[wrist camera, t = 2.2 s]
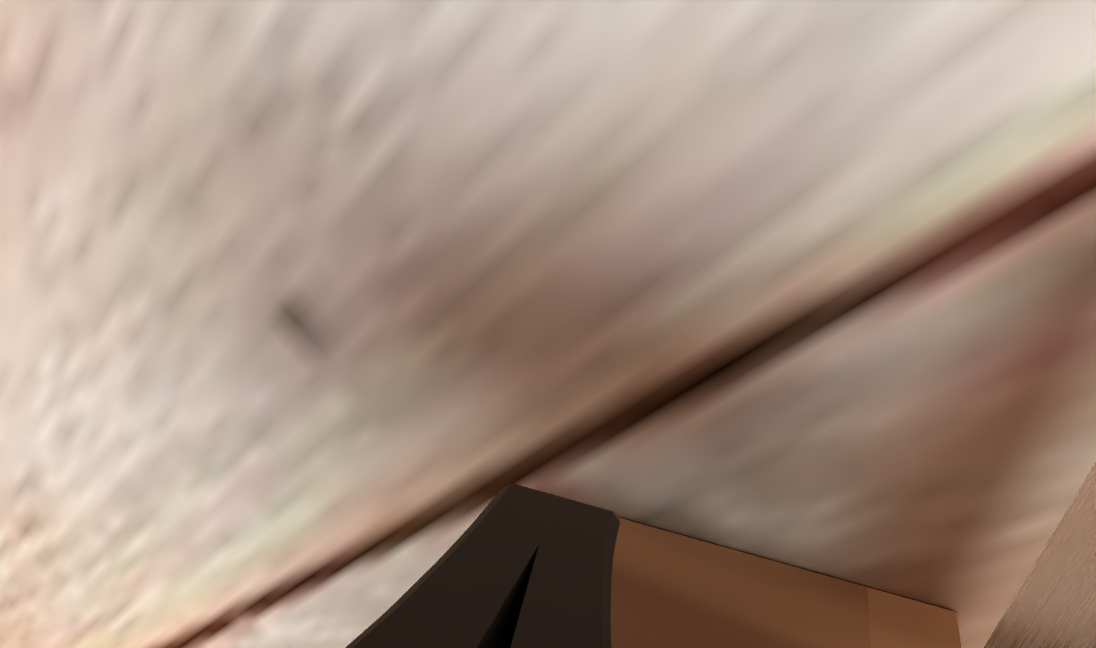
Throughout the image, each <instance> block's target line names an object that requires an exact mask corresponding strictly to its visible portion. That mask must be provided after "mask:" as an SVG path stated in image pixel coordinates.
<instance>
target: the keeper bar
mask: <svg viewBox="0 0 1096 648" xmlns="http://www.w3.org/2000/svg"><path fill="white" fill-rule="evenodd" d="M984 648H1096V463H1095V464H1094V466H1093V467H1092V469H1091V471H1090V472H1089V474H1088V476H1087V477H1086V479H1085V481H1084V482H1083V484H1082V486H1081V487H1080V489H1079V491H1078V492H1077V494H1076V496H1075V497H1074V499H1073V501H1072V502H1071V504H1070V506H1069V507H1068V509H1067V511H1066V512H1065V514H1064V516H1063V517H1062V519H1061V521H1060V522H1059V524H1058V526H1057V527H1056V529H1055V531H1054V532H1053V534H1052V536H1051V537H1050V539H1049V541H1048V542H1047V544H1046V545H1045V547H1044V549H1043V550H1042V552H1041V554H1040V555H1039V557H1038V559H1037V560H1036V562H1035V564H1034V565H1033V567H1032V569H1031V570H1030V572H1029V574H1028V575H1027V577H1026V579H1025V580H1024V582H1023V584H1022V585H1021V587H1020V589H1019V590H1018V592H1017V594H1016V595H1015V597H1014V599H1013V600H1012V602H1011V604H1010V605H1009V607H1008V609H1007V610H1006V612H1005V614H1004V615H1003V617H1002V619H1001V620H1000V622H999V624H998V625H997V627H996V628H995V630H994V632H993V633H992V635H991V637H990V638H989V640H988V642H987V643H986V645H985V647H984Z"/></svg>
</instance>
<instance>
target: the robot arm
mask: <svg viewBox="0 0 1096 648" xmlns="http://www.w3.org/2000/svg"><path fill="white" fill-rule="evenodd" d="M619 525H620V521H619V519H618V518H617V517H616V515H615V514H614V513H613V511H609V510H605V509H602V508H598V507H595V506H591V505H588V504H584V503H580V502H577V501H573V500H570V499H566V498H562V497H559V496H555V495H552V494H548V493H545V492H541V491H537V490H534V489H530V488H527V487H523V486H519V485H516V484H512V483H511V484H509V485H507V486H505V487H503V488H501V489H500V491H499V492H498V493H497V494H496V496H495V497H494V498H493V500H492V501H491V502H490V503H489V505H488V506H487V507H486V508H485V509H484V510H483V512H482V513H481V514H480V515H479V516H478V518H477V519H476V520H475V521H474V522H473V523H472V525H471V526H470V527H469V528H468V529H467V530H466V531H465V532H464V533H463V535H462V536H461V537H460V538H459V539H458V540H457V541H456V542H455V543H454V544H453V545H452V546H451V547H450V548H449V550H448V551H447V552H446V553H445V554H444V555H443V556H442V557H441V558H440V559H439V560H438V561H437V562H436V563H435V564H434V565H433V566H432V567H431V568H430V569H429V570H428V571H427V572H426V573H425V574H424V575H423V576H422V577H421V578H420V579H419V580H418V581H417V582H416V583H415V584H414V585H413V586H412V587H411V588H410V589H409V590H408V591H407V592H406V593H405V594H404V595H403V596H402V597H401V598H400V599H399V600H398V601H397V602H396V603H395V604H394V605H393V606H391V607H390V608H389V609H388V610H387V611H386V612H385V613H384V614H383V615H382V616H381V617H380V618H379V619H377V620H376V621H375V622H374V623H373V624H372V625H371V626H370V627H368V628H367V629H366V630H365V631H364V632H363V633H362V634H360V635H359V636H358V637H357V638H356V639H355V640H354V641H352V642H351V643H350V644H349V645H348V646H347V647H346V648H612V646H611V580H612V565H613V556H614V548H615V544H616V539H617V535H618V530H619Z"/></svg>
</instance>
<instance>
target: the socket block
mask: <svg viewBox="0 0 1096 648" xmlns="http://www.w3.org/2000/svg"><path fill="white" fill-rule="evenodd" d="M617 518H618V519H619V521H620V525H619V530H618V535H617V539H616V544H615V548H614V556H613V565H612V580H611V646H612V648H961V643H960V637H959V630H958V624H957V617H956V612H954V611H951V610H947V609H943V608H940V607H936V606H933V605H929V604H926V603H922V602H918V601H915V600H911V599H908V598H904V597H901V596H897V595H893V594H890V593H886V592H883V591H879V590H876V589H872V588H868V587H865V586H861V585H858V584H854V583H851V582H847V581H843V580H840V579H836V578H833V577H829V576H826V575H822V574H818V573H815V572H811V571H808V570H804V569H801V568H797V567H793V566H790V565H786V564H783V563H779V562H776V561H772V560H768V559H765V558H761V557H758V556H754V555H751V554H747V553H744V552H740V551H736V550H733V549H729V548H726V547H722V546H719V545H715V544H711V543H708V542H704V541H701V540H697V539H694V538H690V537H686V536H683V535H679V534H676V533H672V532H669V531H665V530H661V529H658V528H654V527H651V526H647V525H644V524H640V523H636V522H633V521H629V520H626V519H622V518H619V517H617Z"/></svg>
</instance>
